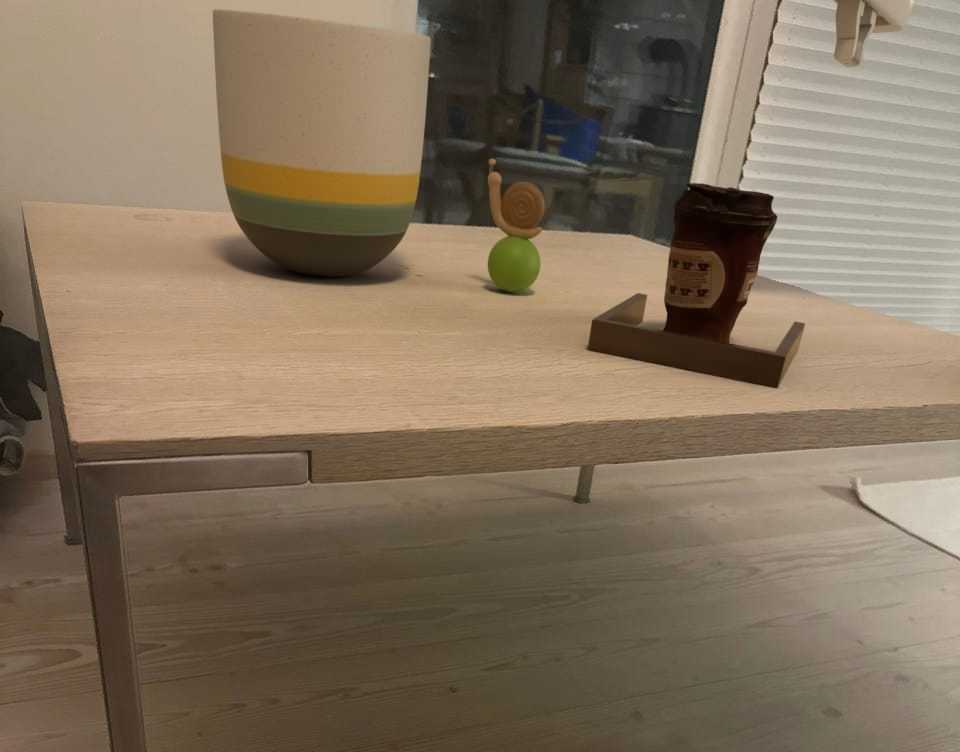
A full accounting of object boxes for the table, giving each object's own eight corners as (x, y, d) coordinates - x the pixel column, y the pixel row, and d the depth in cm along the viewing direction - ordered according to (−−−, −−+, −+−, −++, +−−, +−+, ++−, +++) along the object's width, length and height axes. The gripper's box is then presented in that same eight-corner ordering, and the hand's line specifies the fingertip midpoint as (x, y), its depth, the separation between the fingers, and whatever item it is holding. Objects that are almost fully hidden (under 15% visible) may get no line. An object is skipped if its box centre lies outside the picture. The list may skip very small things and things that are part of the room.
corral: (632, 319, 91) (637, 292, 89) (797, 350, 86) (805, 323, 85) (587, 349, 78) (592, 319, 77) (777, 388, 74) (786, 356, 72)
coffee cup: (696, 363, 78) (734, 194, 71) (627, 338, 83) (656, 178, 76) (760, 355, 83) (801, 196, 76) (691, 332, 88) (723, 182, 81)
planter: (298, 247, 106) (298, 24, 95) (448, 277, 99) (467, 42, 88) (180, 265, 90) (164, 2, 79) (349, 303, 84) (357, 22, 73)
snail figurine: (485, 282, 99) (498, 157, 93) (542, 292, 98) (559, 165, 91) (468, 289, 95) (480, 159, 88) (528, 300, 93) (544, 168, 87)
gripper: (881, -166, 75) (843, 33, 80) (944, -78, 90) (909, 84, 95) (806, -150, 78) (774, 39, 83) (879, -69, 94) (848, 87, 99)
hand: (847, 63), depth 89 cm, fingers closed
